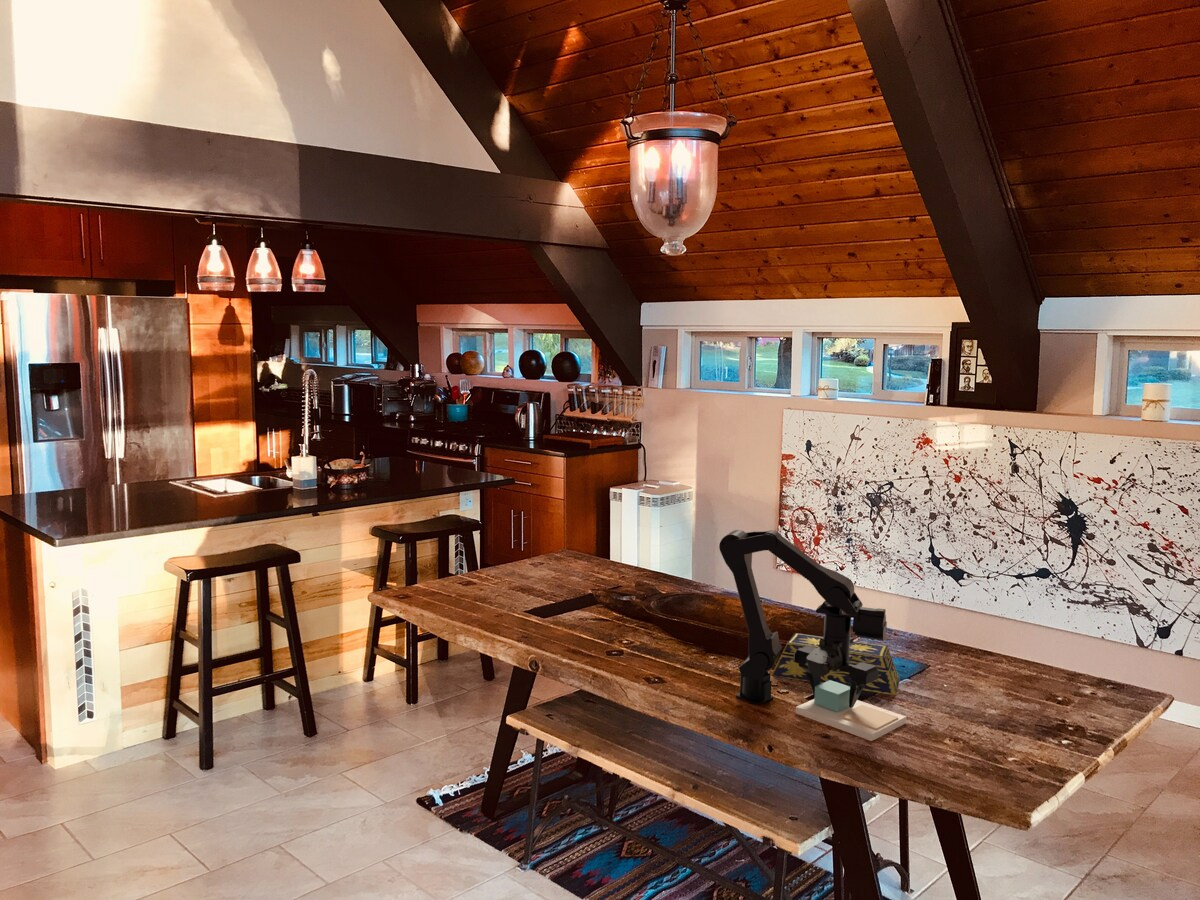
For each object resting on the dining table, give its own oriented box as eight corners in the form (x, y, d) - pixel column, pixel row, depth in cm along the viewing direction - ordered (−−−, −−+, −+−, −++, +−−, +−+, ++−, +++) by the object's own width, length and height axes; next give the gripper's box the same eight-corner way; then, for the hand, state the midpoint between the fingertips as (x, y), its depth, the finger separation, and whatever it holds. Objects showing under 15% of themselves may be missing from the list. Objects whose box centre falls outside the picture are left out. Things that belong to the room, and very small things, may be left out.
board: (795, 713, 213) (796, 691, 212) (831, 697, 222) (832, 676, 222) (871, 741, 199) (873, 718, 198) (905, 723, 209) (907, 701, 208)
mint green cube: (814, 703, 214) (815, 686, 213) (829, 696, 218) (830, 680, 217) (837, 711, 209) (838, 694, 209) (852, 704, 213) (853, 687, 213)
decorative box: (896, 697, 224) (899, 660, 223) (770, 676, 236) (772, 641, 235) (901, 681, 234) (903, 646, 233) (779, 663, 246) (781, 629, 244)
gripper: (780, 630, 213) (777, 697, 215) (854, 652, 199) (849, 723, 201) (809, 621, 220) (806, 685, 222) (882, 641, 207) (877, 710, 209)
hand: (833, 701), depth 214 cm, fingers open, 9 cm apart
